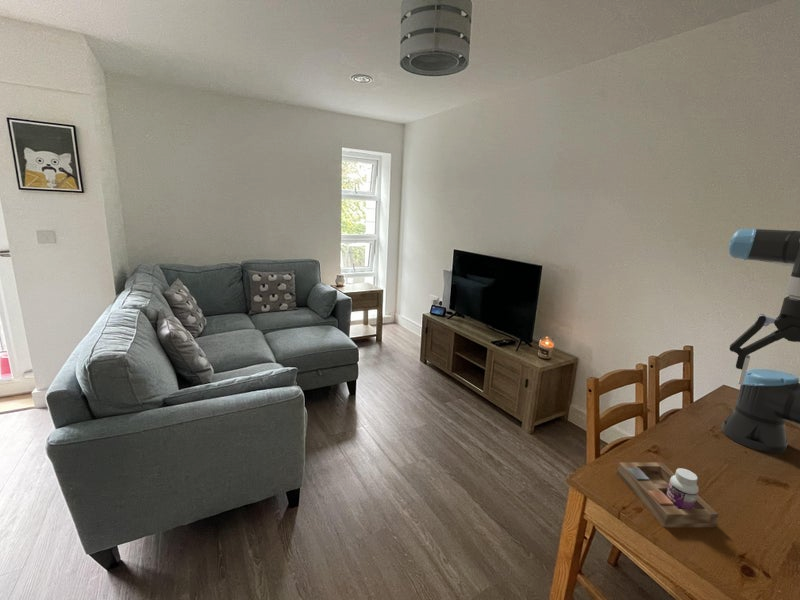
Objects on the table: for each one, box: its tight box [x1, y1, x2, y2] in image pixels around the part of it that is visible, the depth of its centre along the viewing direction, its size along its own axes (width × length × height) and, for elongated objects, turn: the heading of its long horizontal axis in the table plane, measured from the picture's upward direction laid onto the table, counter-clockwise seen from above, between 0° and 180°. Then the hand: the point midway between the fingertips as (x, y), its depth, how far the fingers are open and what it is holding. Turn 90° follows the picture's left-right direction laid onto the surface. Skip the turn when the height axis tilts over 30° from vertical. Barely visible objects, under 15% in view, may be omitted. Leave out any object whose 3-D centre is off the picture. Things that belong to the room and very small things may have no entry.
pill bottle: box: [666, 467, 700, 509], centre depth 86 cm, size 5×5×10 cm
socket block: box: [616, 461, 719, 528], centre depth 91 cm, size 12×18×4 cm
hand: (782, 393), depth 80 cm, fingers open, 13 cm apart
